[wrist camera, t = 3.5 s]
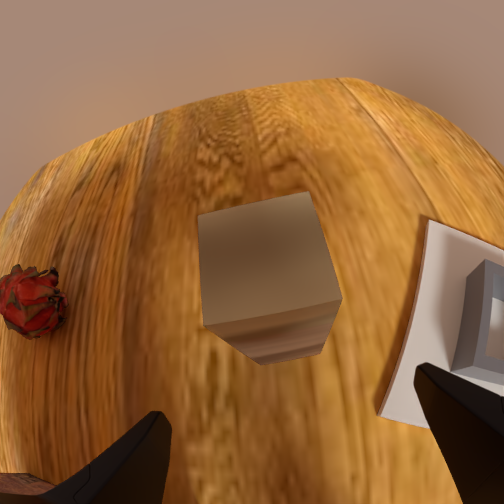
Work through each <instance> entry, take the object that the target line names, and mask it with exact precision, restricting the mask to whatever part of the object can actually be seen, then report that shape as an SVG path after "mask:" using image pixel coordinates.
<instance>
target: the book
mask: <svg viewBox="0 0 504 504" xmlns="http://www.w3.org/2000/svg"><path fill="white" fill-rule="evenodd" d="M55 486H56V485H53V484H51V483H49V482H46V481H44V480H42V479H39V478H37V477H35V476H33V475H31V474H29V473H0V492H3V493H12V494H23V495H38V494H42V493H45V492H47V491H48V490H50V489H52V488H54V487H55Z"/></svg>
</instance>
